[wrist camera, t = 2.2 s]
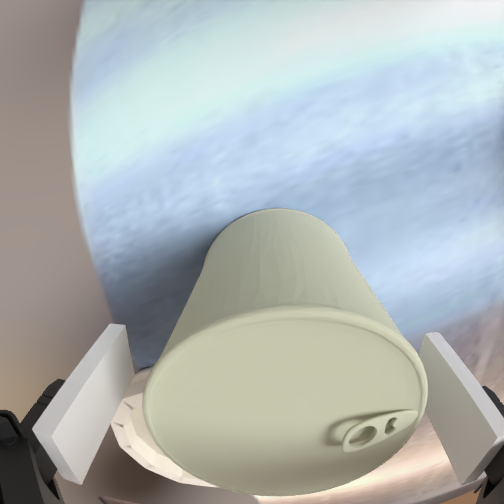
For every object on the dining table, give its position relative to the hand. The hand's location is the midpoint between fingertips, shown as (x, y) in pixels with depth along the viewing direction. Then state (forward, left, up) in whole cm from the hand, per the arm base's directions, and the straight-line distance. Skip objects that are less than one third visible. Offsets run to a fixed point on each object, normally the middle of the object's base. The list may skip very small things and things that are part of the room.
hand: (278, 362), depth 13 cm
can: (0, 0, -7) cm, 7 cm away
